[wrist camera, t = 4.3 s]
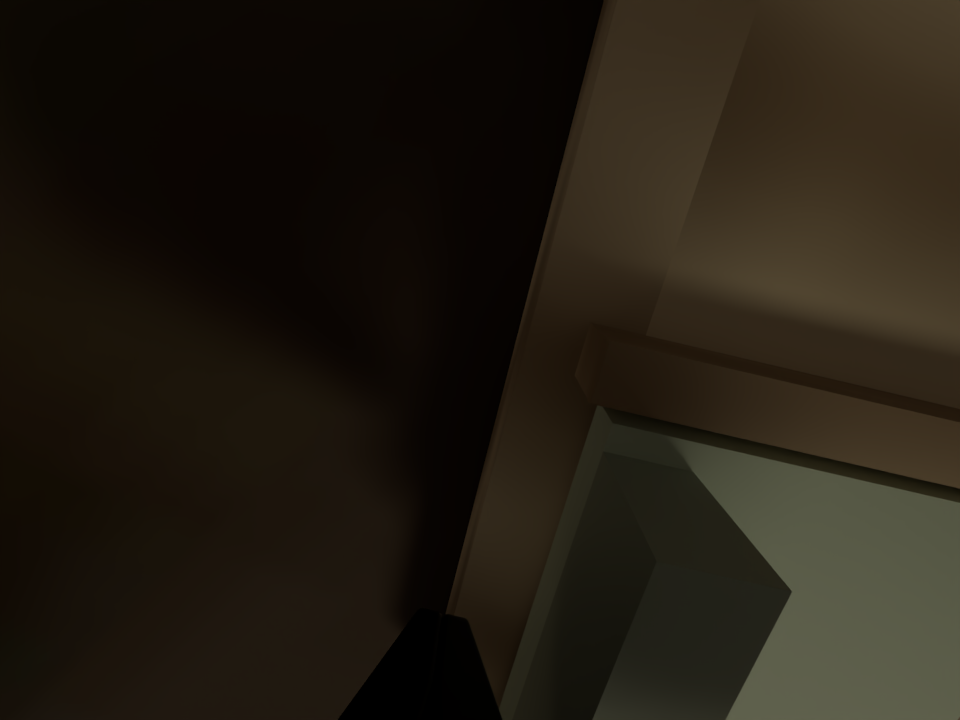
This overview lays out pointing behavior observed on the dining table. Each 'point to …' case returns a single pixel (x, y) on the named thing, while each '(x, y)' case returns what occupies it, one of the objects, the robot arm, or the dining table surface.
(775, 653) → the lid
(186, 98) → the dining table surface
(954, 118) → the puzzle board
